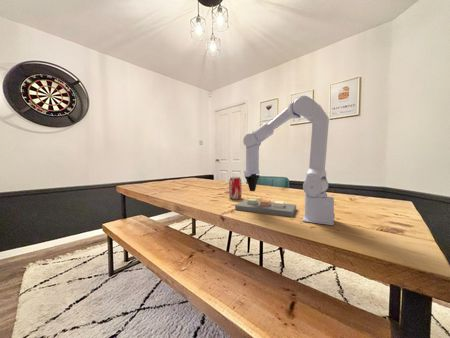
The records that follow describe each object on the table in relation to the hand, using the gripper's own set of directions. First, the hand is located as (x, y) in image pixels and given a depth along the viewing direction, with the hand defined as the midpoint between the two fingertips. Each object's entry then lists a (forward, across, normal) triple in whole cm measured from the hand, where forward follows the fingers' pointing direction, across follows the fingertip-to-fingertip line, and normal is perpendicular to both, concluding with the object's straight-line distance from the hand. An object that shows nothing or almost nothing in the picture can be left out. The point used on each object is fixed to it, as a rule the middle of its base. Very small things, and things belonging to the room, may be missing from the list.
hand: (252, 191), depth 83 cm
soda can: (+8, -16, -16) cm, 24 cm away
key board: (+8, 0, +6) cm, 10 cm away
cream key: (+6, 0, +12) cm, 14 cm away
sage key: (+6, 0, 0) cm, 6 cm away
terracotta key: (+6, 0, +6) cm, 9 cm away
